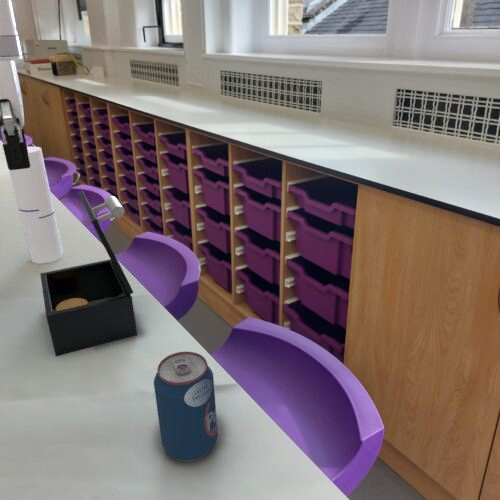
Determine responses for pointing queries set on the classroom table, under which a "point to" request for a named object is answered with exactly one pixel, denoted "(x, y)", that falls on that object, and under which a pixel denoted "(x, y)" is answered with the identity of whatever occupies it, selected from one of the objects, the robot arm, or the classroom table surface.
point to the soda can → (186, 405)
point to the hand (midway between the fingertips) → (19, 161)
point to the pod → (71, 303)
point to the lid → (116, 212)
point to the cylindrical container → (37, 209)
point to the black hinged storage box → (87, 307)
